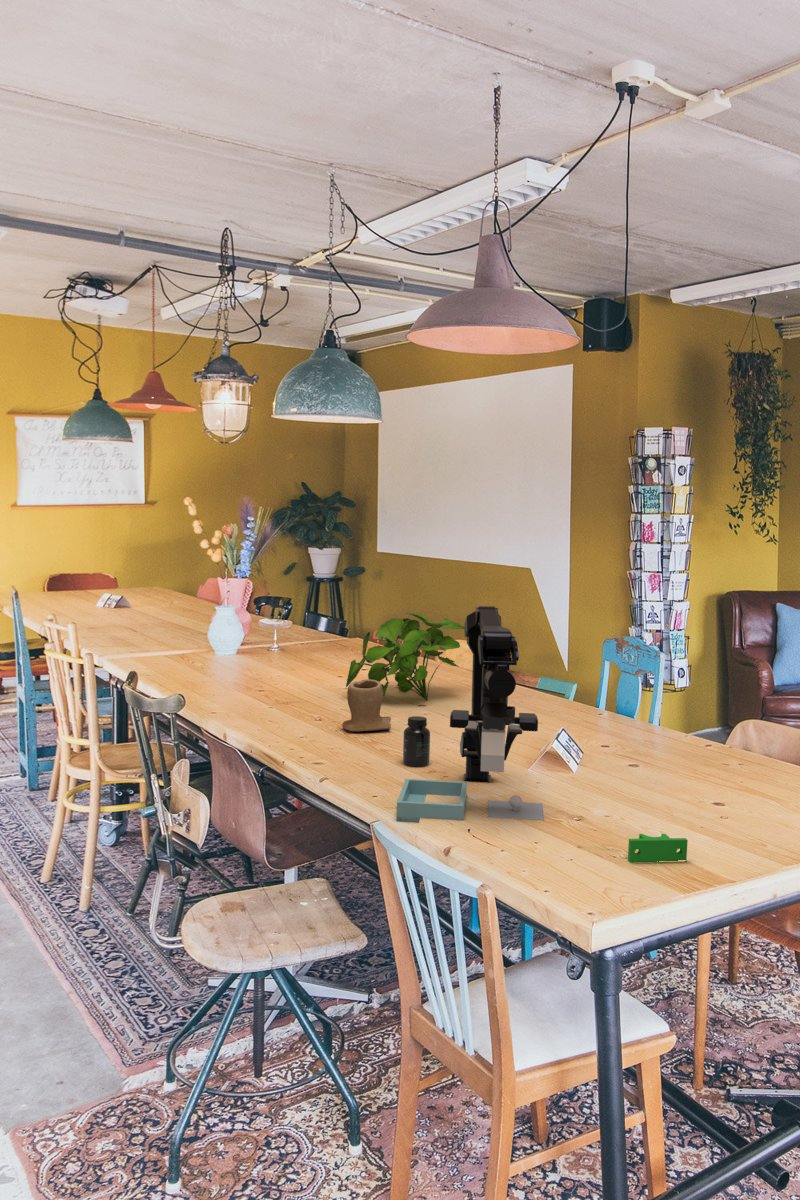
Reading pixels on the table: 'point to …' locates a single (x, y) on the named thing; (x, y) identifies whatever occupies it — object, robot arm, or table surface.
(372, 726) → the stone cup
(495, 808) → the stud base
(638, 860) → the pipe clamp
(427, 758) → the supplement bottle
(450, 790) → the bin
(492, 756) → the beige rectangular block
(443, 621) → the indoor plant
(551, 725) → the table surface
